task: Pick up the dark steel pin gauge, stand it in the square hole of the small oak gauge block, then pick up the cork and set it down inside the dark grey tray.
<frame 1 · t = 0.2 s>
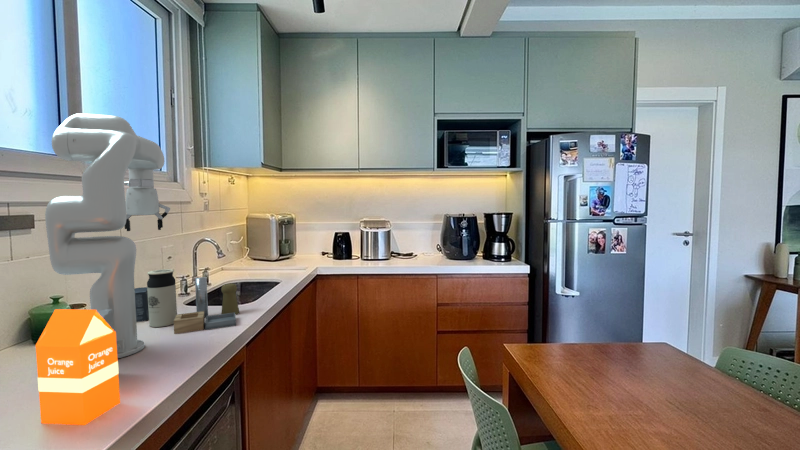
hand: (144, 230, 139), 31 cm above the worktop, tool pointing down, fingers open, 9 cm apart
tray: (221, 323, 123), on the worktop
orange juice: (82, 413, 70), on the worktop
box: (141, 319, 131), on the worktop
travel mug: (163, 324, 124), on the worktop
cork: (230, 314, 135), on the worktop
skincare box: (92, 384, 82), on the worktop
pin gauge: (202, 316, 131), on the worktop
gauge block: (190, 328, 119), on the worktop
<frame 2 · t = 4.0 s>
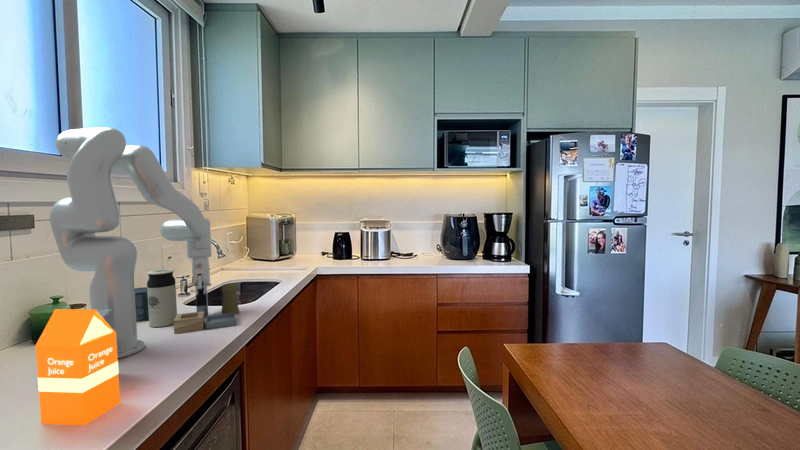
hand: (202, 303, 131), 5 cm above the worktop, tool pointing down, fingers closed on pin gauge, 3 cm apart
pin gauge: (202, 316, 131), on the worktop, touching gripper
everything else where it was.
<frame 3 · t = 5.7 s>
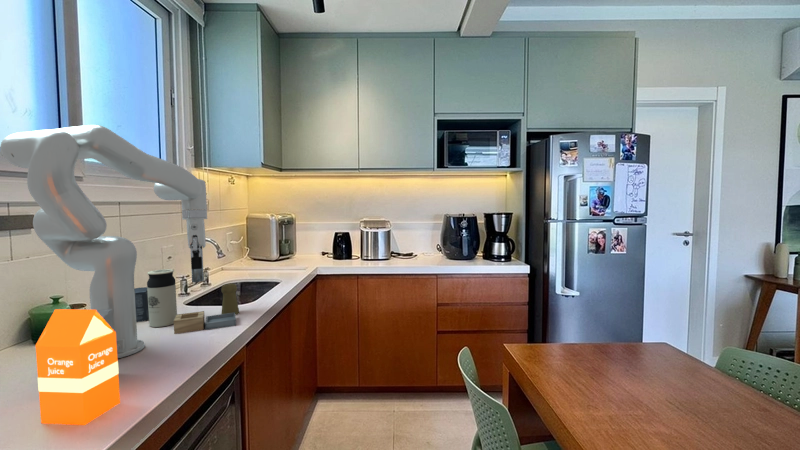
hand: (197, 267, 127), 18 cm above the worktop, tool pointing down, fingers closed on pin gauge, 3 cm apart
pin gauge: (198, 281, 128), point 13 cm above the worktop, touching gripper
everything else where it was.
when the fingers open (6 cm above the worktop, at t = 7.9 s): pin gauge stays where it is, resting in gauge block.
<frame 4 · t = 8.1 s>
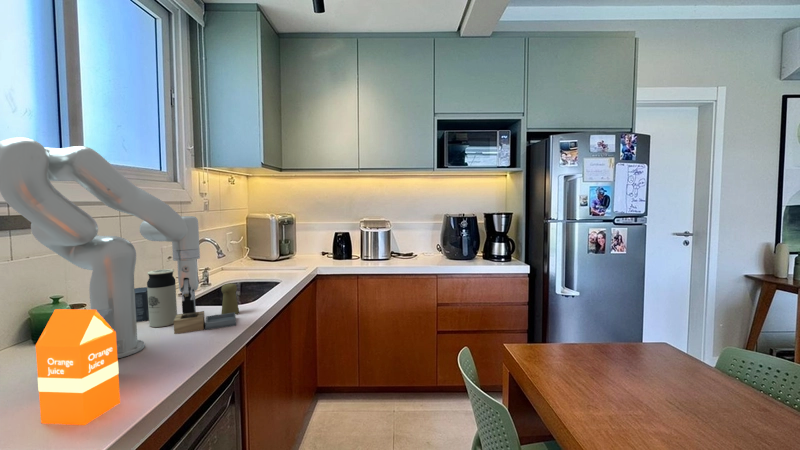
hand: (189, 309, 119), 6 cm above the worktop, tool pointing down, fingers open, 5 cm apart
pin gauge: (190, 328, 119), resting in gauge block
everything else where it was.
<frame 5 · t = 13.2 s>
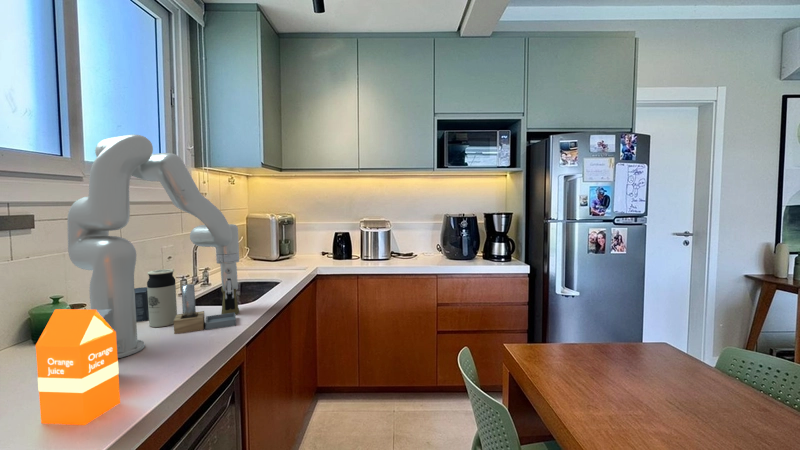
hand: (230, 307, 135), 2 cm above the worktop, tool pointing down, fingers closed on cork, 3 cm apart
cork: (230, 314, 135), on the worktop, touching gripper
everything else where it was.
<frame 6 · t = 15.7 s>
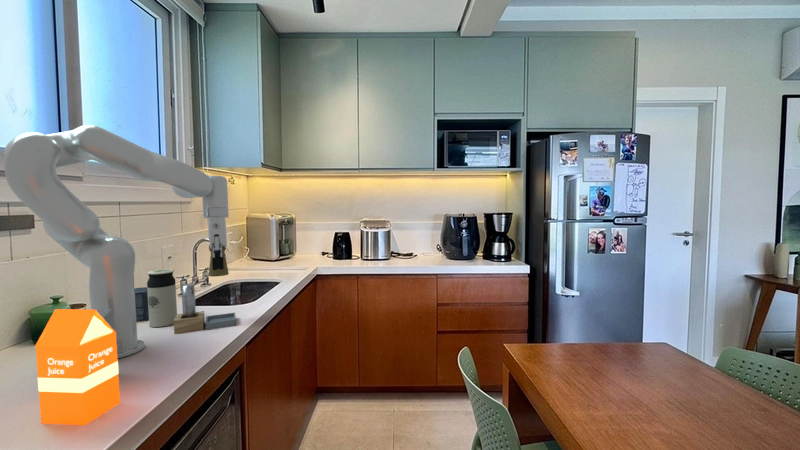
hand: (218, 268, 122), 19 cm above the worktop, tool pointing down, fingers closed on cork, 3 cm apart
cork: (218, 275, 122), point 16 cm above the worktop, touching gripper
everything else where it was.
when the fingers open (5 cm above the worktop, at t = 18.0 s): cork drops 2 cm, resting on tray.
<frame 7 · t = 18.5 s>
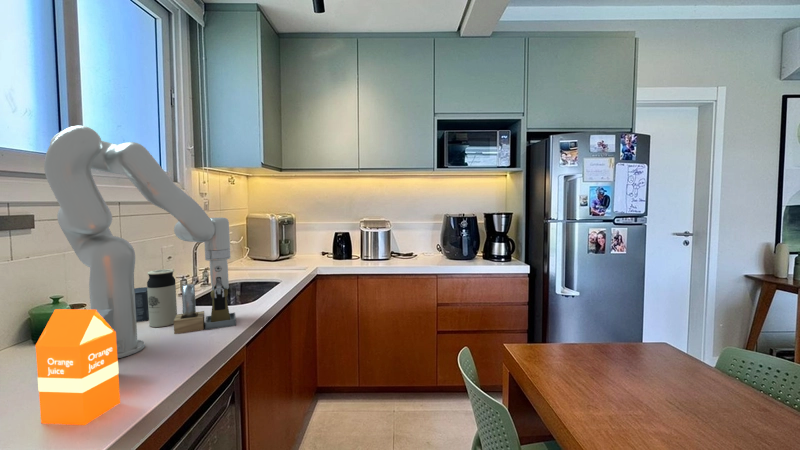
hand: (220, 306, 123), 6 cm above the worktop, tool pointing down, fingers open, 8 cm apart
cork: (220, 321, 124), point 1 cm above the worktop, touching tray
everything else where it was.
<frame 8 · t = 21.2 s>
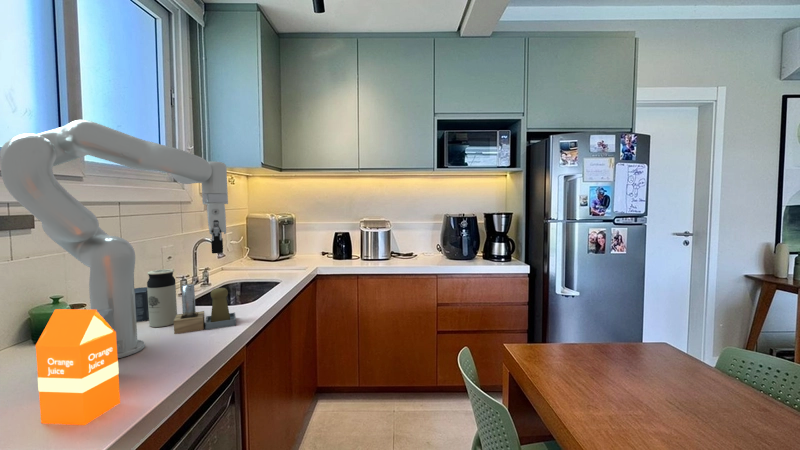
hand: (217, 251, 122), 24 cm above the worktop, tool pointing down, fingers open, 9 cm apart
nothing on the worktop moved.
at the end: cork inside the target area on the tray (0.7 cm from its centre), point 0.6 cm above the tray's base; cork tilted 0°; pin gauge 0.1 cm from the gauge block (horizontally) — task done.
